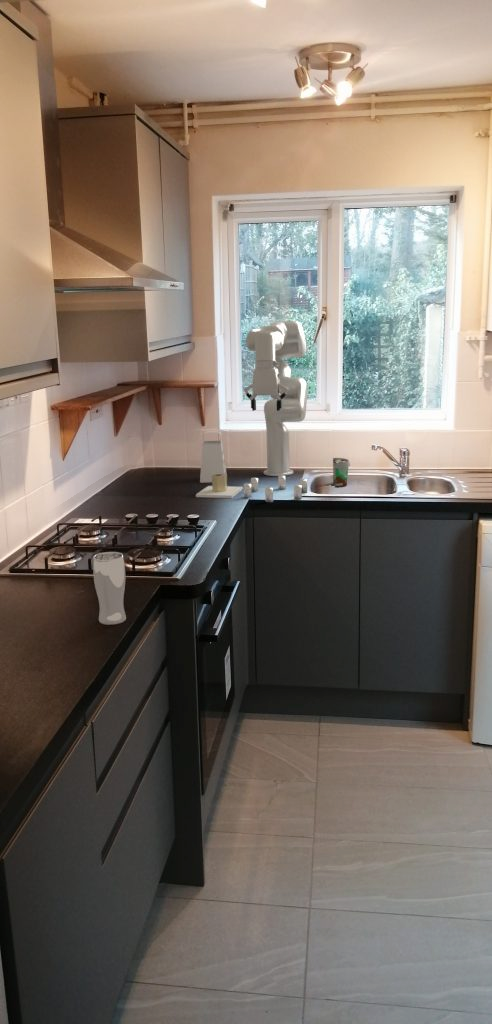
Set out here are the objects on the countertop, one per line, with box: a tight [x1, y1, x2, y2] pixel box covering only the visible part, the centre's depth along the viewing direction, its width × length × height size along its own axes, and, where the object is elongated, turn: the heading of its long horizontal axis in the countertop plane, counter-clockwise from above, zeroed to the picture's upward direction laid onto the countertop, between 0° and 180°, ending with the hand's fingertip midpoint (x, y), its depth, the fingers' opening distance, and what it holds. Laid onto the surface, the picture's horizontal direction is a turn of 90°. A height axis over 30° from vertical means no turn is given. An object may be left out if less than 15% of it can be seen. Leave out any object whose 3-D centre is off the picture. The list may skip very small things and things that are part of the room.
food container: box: [332, 457, 351, 489], centre depth 319 cm, size 12×6×10 cm, turn 179°
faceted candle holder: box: [211, 474, 228, 492], centre depth 311 cm, size 6×5×6 cm
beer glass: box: [92, 551, 127, 626], centre depth 182 cm, size 7×7×15 cm
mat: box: [195, 485, 244, 499], centre depth 312 cm, size 16×14×1 cm
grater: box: [199, 430, 228, 483], centre depth 335 cm, size 10×10×20 cm
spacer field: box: [243, 476, 308, 503], centre depth 306 cm, size 25×22×5 cm
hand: (266, 410), depth 313 cm, fingers open, 9 cm apart
